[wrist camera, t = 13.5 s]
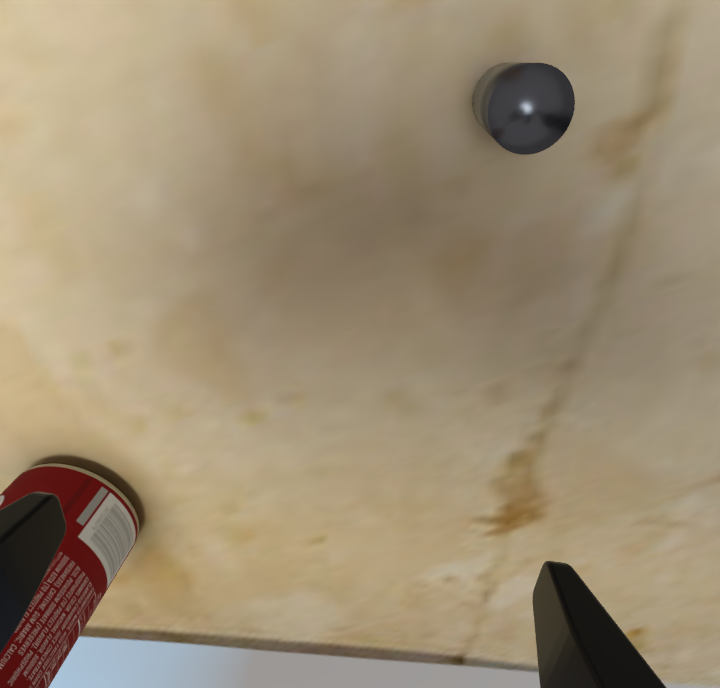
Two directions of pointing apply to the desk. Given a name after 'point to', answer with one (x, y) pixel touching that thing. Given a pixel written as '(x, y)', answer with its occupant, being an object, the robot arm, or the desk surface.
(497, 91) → the dark grey cylinder
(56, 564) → the soda can
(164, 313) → the desk surface
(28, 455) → the desk surface
